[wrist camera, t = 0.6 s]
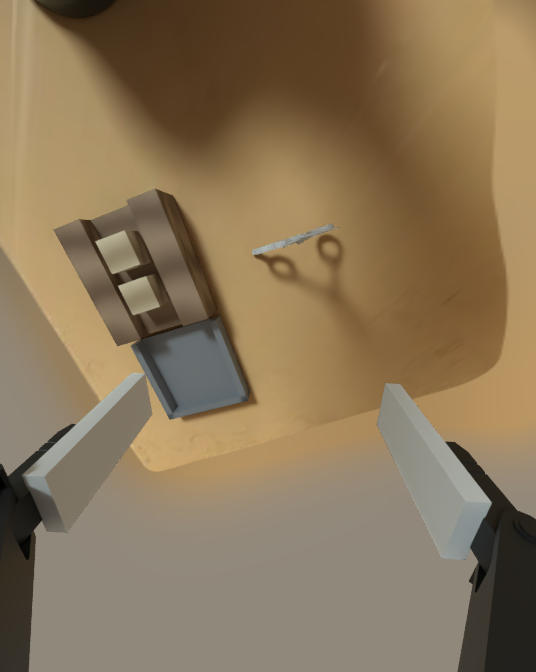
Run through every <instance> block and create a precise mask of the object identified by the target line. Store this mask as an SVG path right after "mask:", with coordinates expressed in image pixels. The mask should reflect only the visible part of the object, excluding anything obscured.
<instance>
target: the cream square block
mask: <svg viewBox="0 0 536 672" xmlns="http://www.w3.org/2000/svg"><path fill="white" fill-rule="evenodd" d="M95 242H96V244H97V246H98V248H99V250H100V252H101V254H102V256H103V258H104V260H105V261H106V263H107V265H108V267H109V269H110V271H111V273H112V274H116V273H120V272H125V271H128V270H131V269H134V268H137V267H139V266H142V265H145V264H148V263H151V262H152V261H151V259H150V257H149V254H148V252H147V250H146V248H145V246H144V243H143V241H142V239H141V237H140V234H139V232H138V231H129V230H124V231H121V232H119V233H116V234H114V235H111V236H108V237H106V238H103V239H100V240H98V241H95Z"/></svg>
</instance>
